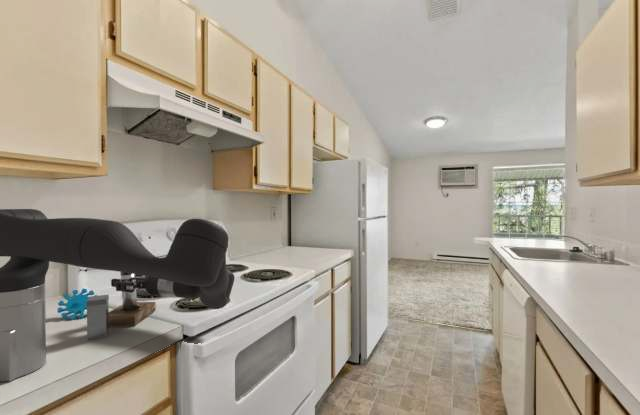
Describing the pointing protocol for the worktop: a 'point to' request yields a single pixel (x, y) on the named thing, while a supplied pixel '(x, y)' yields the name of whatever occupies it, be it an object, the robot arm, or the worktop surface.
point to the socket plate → (131, 314)
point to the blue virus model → (75, 304)
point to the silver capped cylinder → (129, 294)
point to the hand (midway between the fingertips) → (124, 279)
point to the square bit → (97, 317)
